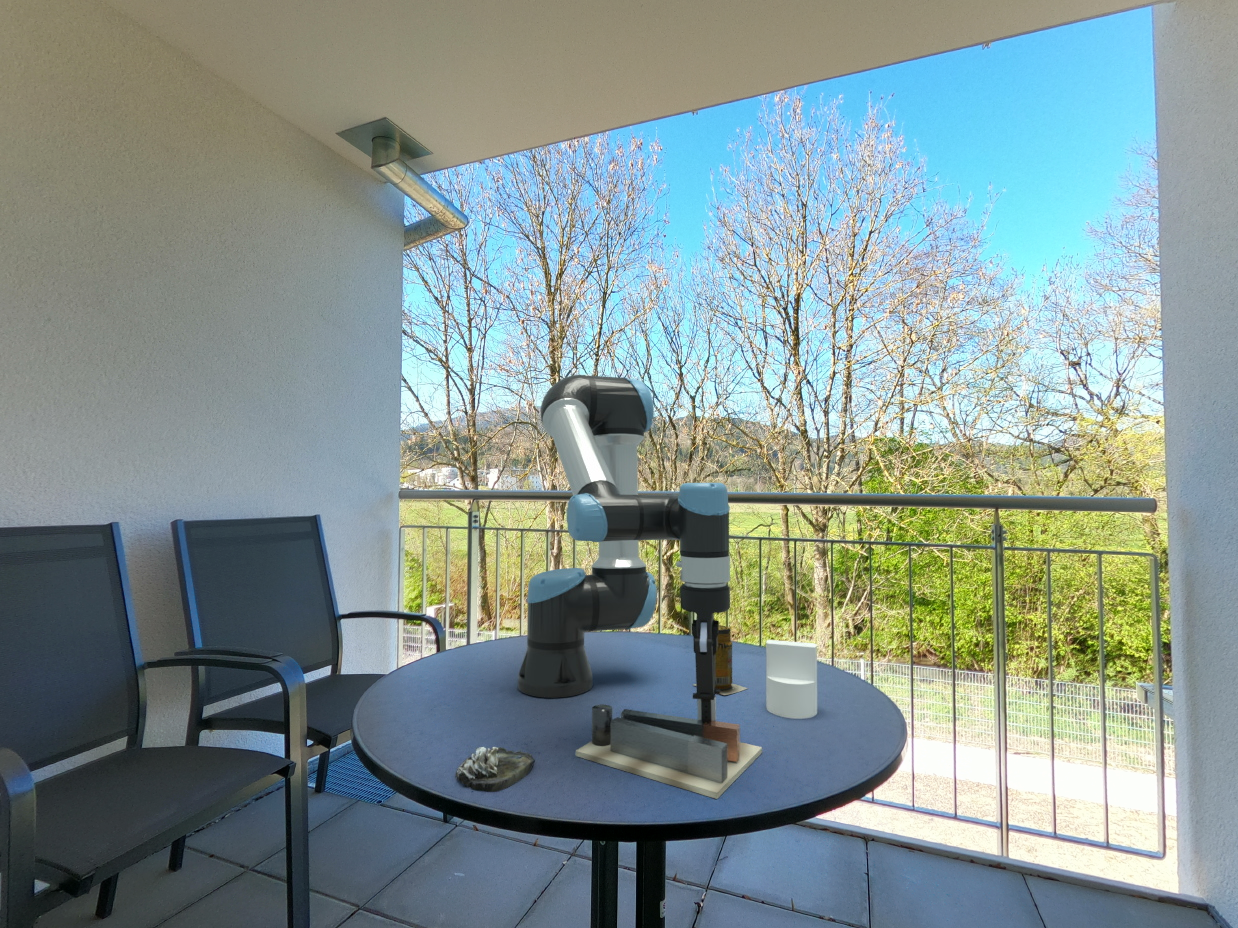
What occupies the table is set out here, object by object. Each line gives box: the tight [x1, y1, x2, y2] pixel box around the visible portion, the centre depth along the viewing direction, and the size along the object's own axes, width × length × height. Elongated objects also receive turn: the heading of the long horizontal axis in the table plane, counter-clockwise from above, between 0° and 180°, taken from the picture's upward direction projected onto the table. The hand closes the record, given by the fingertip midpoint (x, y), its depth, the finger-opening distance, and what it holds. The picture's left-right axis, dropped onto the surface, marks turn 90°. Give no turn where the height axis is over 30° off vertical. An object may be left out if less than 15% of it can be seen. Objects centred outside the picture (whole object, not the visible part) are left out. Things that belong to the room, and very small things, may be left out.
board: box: [575, 740, 763, 800], centre depth 92 cm, size 23×17×1 cm
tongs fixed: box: [591, 703, 727, 784], centre depth 89 cm, size 23×4×5 cm, turn 57°
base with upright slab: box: [765, 639, 818, 720], centre depth 112 cm, size 9×9×12 cm
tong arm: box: [620, 708, 741, 762], centre depth 92 cm, size 18×2×5 cm, turn 69°
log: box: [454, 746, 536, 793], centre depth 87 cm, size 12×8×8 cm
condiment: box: [693, 624, 748, 696], centre depth 124 cm, size 7×8×12 cm
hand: (707, 740), depth 92 cm, fingers closed
